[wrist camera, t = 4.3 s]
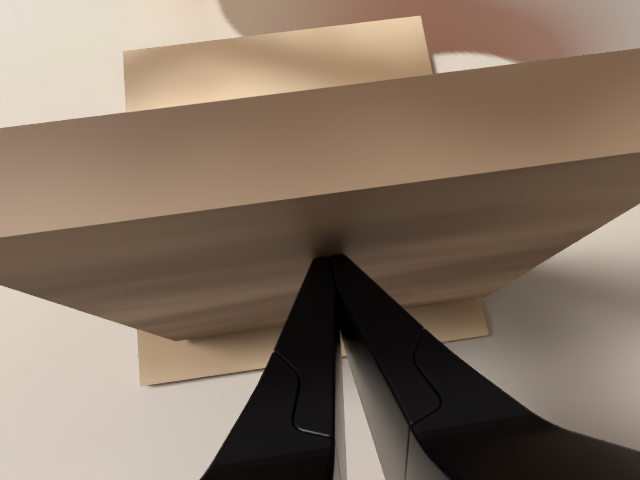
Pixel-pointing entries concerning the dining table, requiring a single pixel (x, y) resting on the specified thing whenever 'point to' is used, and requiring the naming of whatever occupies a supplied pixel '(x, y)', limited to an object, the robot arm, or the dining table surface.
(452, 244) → the brown wooden slab
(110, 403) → the dining table surface
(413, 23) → the light tan wooden board
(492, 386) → the robot arm
